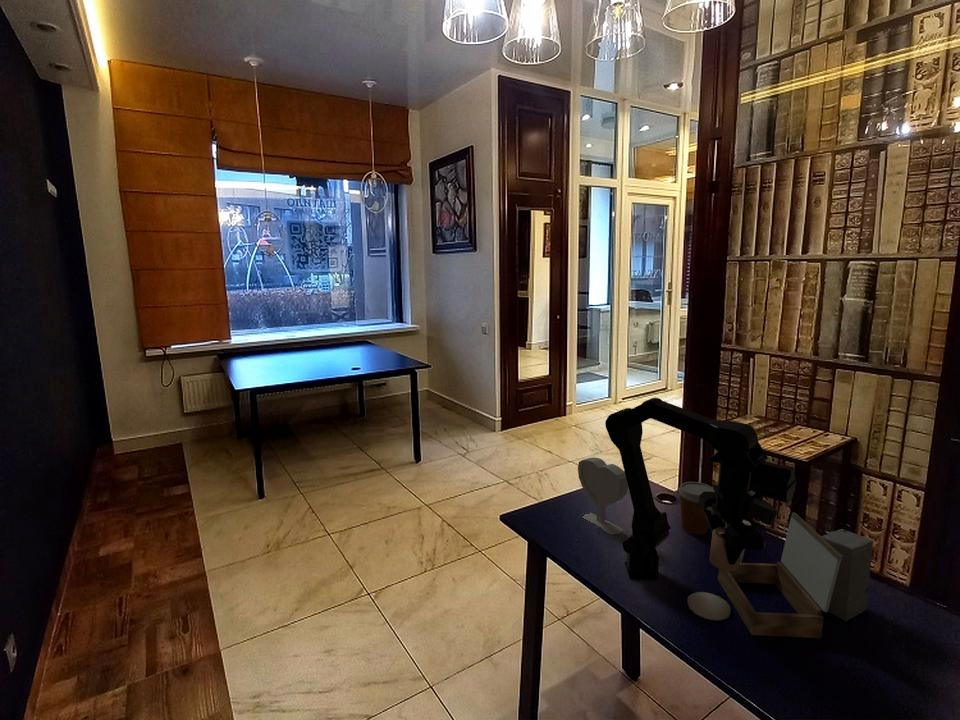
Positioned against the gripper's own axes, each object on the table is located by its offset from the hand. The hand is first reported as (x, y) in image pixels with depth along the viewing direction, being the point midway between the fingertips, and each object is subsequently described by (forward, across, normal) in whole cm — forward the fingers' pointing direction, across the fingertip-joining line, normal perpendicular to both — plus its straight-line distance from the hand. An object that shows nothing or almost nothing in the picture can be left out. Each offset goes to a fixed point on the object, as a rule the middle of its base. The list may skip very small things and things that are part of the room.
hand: (725, 555), depth 107 cm
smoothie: (+12, +19, -10) cm, 25 cm away
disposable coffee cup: (+13, +33, -6) cm, 36 cm away
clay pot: (+2, 0, 0) cm, 2 cm away
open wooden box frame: (+12, +1, -11) cm, 16 cm away
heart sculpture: (+13, +35, +19) cm, 42 cm away
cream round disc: (+12, 0, +2) cm, 12 cm away
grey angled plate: (0, +1, -17) cm, 17 cm away
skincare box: (+12, +1, -25) cm, 28 cm away
